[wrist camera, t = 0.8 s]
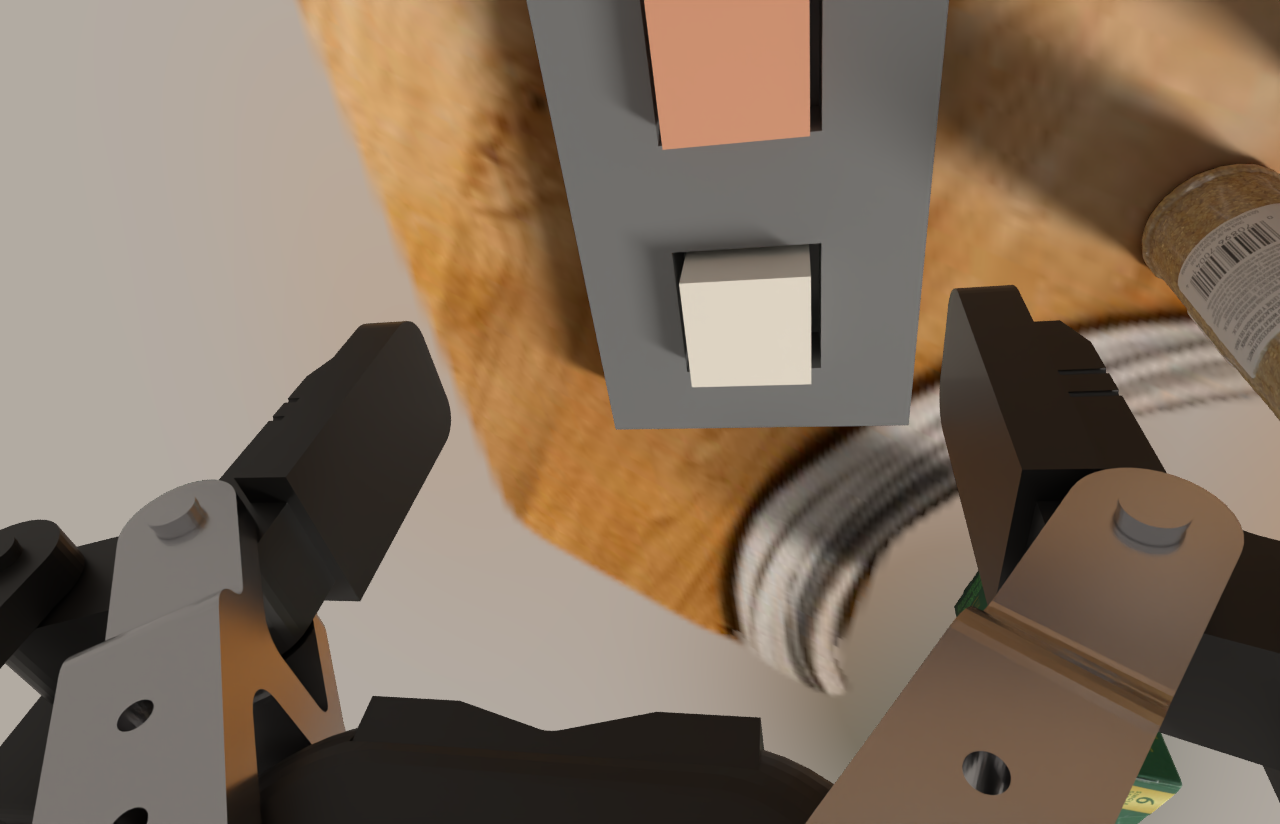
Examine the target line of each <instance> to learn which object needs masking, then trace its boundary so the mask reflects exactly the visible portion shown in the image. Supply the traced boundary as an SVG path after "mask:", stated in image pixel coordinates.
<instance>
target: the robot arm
mask: <svg viewBox="0 0 1280 824" xmlns="http://www.w3.org/2000/svg"><path fill="white" fill-rule="evenodd" d="M1118 391H1119V390H1118V388H1117V386H1116V384H1115V383H1114V381H1113V379H1112V378H1111V376H1110V374H1109V373H1106V367H1105V365H1104V364H1103V362H1102V360H1101V358H1100V357H1099V355H1098V353H1097V352H1096V350H1095V348H1094V346H1093V345H1092V343H1091V342H1090V341H1089V340H1087V339H1086V338H1084V337H1083V336H1082V335H1080V334H1079V333H1077V332H1076V331H1074V330H1073V329H1072V328H1070V327H1069V326H1067V325H1066V324H1064V323H1063V322H1061V321H1060V320H1059V321H1040V322H1034V321H1033V319H1032V317H1031V315H1030V313H1029V311H1028V309H1027V307H1026V305H1025V303H1024V301H1023V299H1022V297H1021V295H1020V293H1019V290H1018V289H1017V287H1016V286H1015V285H1005V286H989V287H972V288H956V289H953V290H952V292H951V295H950V298H949V304H948V313H947V323H946V332H945V342H944V351H943V361H942V370H941V380H940V416H941V424H942V429H943V433H944V437H945V441H946V445H947V449H948V453H949V457H950V461H951V465H952V468H953V472H954V476H955V480H956V484H957V488H958V492H959V496H960V500H961V504H962V507H963V511H964V515H965V519H966V523H967V527H968V531H969V535H970V539H971V543H972V547H973V550H974V554H975V558H976V562H977V566H978V570H979V574H980V578H981V582H982V586H983V590H984V594H985V597H986V601H987V605H988V606H987V607H986V609H984V610H983V611H982V610H980V609H978V608H976V607H974V606H969V607H967V608H966V609H965V610H963V611H962V612H961V613H960V614H959V615H958V616H957V617H956V619H955V620H954V621H953V623H952V624H951V625H950V626H949V628H948V629H947V630H946V632H945V633H944V635H943V636H942V637H941V639H940V640H939V641H938V643H937V644H936V645H935V647H934V648H933V649H932V651H931V652H930V654H929V655H928V656H927V658H926V659H925V660H924V662H923V663H922V665H921V666H920V667H919V669H918V670H917V671H916V673H915V674H914V675H913V677H912V678H911V680H910V681H909V682H908V684H907V685H906V687H905V688H904V689H903V691H902V692H901V693H900V695H899V696H898V697H897V699H896V700H895V701H894V703H893V704H892V706H891V707H890V708H889V710H888V711H887V712H886V714H885V716H884V717H883V718H882V719H881V721H880V722H879V724H878V725H877V726H876V727H875V729H874V730H873V732H872V733H871V734H870V736H869V737H868V738H867V740H866V741H865V743H864V744H863V745H862V747H861V748H860V749H859V751H858V752H857V753H856V755H855V756H854V758H853V759H852V760H851V762H850V763H849V764H848V766H847V767H846V769H845V770H844V771H843V773H842V774H841V775H840V777H839V778H838V779H837V781H836V782H835V784H833V783H831V782H830V781H828V780H826V779H824V778H823V777H822V776H820V775H818V774H817V773H815V772H814V771H812V770H810V769H809V768H806V767H804V766H802V765H800V764H798V763H796V762H794V761H792V760H790V759H788V758H786V757H783V756H780V755H777V754H774V753H771V752H768V751H765V750H764V745H763V736H762V727H761V718H757V717H755V718H754V717H738V716H720V715H703V714H684V713H667V712H654V713H649V714H644V715H638V716H633V717H627V718H622V719H617V720H611V721H607V722H601V723H596V724H590V725H585V726H580V727H575V728H569V729H564V730H559V731H544V730H540V729H537V728H535V727H532V726H529V725H526V724H523V723H521V722H518V721H515V720H512V719H509V718H507V717H504V716H501V715H498V714H495V713H493V712H490V711H487V710H484V709H481V708H479V707H476V706H473V705H470V704H467V703H464V702H461V701H452V700H434V699H417V698H400V697H381V696H373V697H372V699H371V701H370V703H369V705H368V707H367V709H366V711H365V714H364V716H363V718H362V720H361V723H360V724H359V726H358V728H356V729H352V730H349V731H345V727H344V722H343V717H342V712H341V707H340V701H339V696H338V691H337V686H336V680H335V675H334V670H333V665H332V660H331V655H330V649H329V644H328V639H327V633H326V629H325V626H324V624H323V622H322V621H321V619H320V618H319V616H318V615H317V612H318V610H319V608H320V606H321V605H322V603H323V601H324V600H329V601H360V600H361V599H362V597H363V595H364V593H365V591H366V589H367V587H368V586H369V584H370V582H371V580H372V578H373V576H374V575H375V573H376V571H377V569H378V567H379V565H380V563H381V561H382V560H383V558H384V556H385V554H386V552H387V550H388V549H389V547H390V545H391V543H392V541H393V539H394V537H395V536H396V534H397V532H398V530H399V528H400V526H401V524H402V523H403V521H404V519H405V517H406V515H407V513H408V511H409V510H410V508H411V506H412V504H413V502H414V500H415V498H416V496H417V495H418V493H419V491H420V489H421V487H422V485H423V484H424V482H425V480H426V478H427V476H428V474H429V472H430V471H431V469H432V467H433V465H434V463H435V461H436V459H437V458H438V456H439V454H440V452H441V450H442V448H443V446H444V445H445V443H446V441H447V439H448V436H449V432H450V426H451V413H450V406H449V402H448V399H447V396H446V394H445V392H444V389H443V386H442V384H441V381H440V378H439V376H438V373H437V371H436V368H435V366H434V363H433V360H432V358H431V355H430V353H429V350H428V348H427V345H426V343H425V340H424V337H423V335H422V333H421V331H420V329H419V328H418V327H417V326H416V325H415V324H414V323H413V322H409V321H402V322H387V323H370V324H363V325H361V326H360V327H358V328H357V330H356V331H355V332H354V333H353V334H352V336H351V337H350V338H349V339H348V340H347V342H346V343H345V344H344V345H343V346H342V348H341V349H340V350H339V351H338V353H337V354H336V355H335V356H334V357H333V358H332V359H331V360H329V361H328V362H326V363H325V364H324V365H322V366H321V367H320V368H318V369H317V370H315V371H314V372H312V373H311V374H310V375H308V376H307V377H306V378H305V379H304V380H303V381H302V383H301V384H300V385H299V386H298V387H297V388H296V390H295V391H294V392H293V393H292V394H291V396H290V397H289V398H288V400H289V402H288V403H284V404H283V405H282V406H281V407H280V409H279V410H278V411H277V412H276V413H275V414H274V416H273V421H268V423H267V424H266V425H265V426H264V427H263V429H262V430H261V431H260V432H259V433H258V434H257V436H256V437H255V438H254V439H253V440H252V442H251V443H250V444H249V445H248V446H247V447H246V449H245V450H244V451H243V452H242V453H241V454H240V456H239V457H238V458H237V459H236V460H235V462H234V463H233V464H232V465H231V466H230V467H229V469H228V470H227V471H226V472H225V473H224V475H223V476H222V477H221V478H220V479H219V480H202V481H196V482H192V483H188V484H186V485H183V486H180V487H177V488H175V489H173V490H170V491H168V492H166V493H164V494H163V495H161V496H159V497H158V498H156V499H155V500H153V501H151V502H150V503H148V504H147V505H146V506H144V507H143V508H142V509H140V510H139V511H138V512H137V513H136V514H135V515H134V516H133V517H132V518H131V519H130V520H129V521H128V522H127V524H126V525H125V527H124V528H123V529H122V531H121V533H120V535H119V537H115V538H110V539H106V540H102V541H98V542H94V543H90V544H86V545H82V546H79V547H76V546H75V544H74V543H73V542H72V541H71V540H70V539H69V538H68V537H67V536H66V534H65V533H64V532H63V531H62V530H61V529H60V528H59V527H58V525H57V524H55V523H54V522H52V521H48V520H31V521H27V522H22V523H19V524H15V525H12V526H9V527H7V528H4V529H2V530H0V668H1V667H2V666H3V665H4V664H7V665H8V666H9V667H10V668H11V669H12V670H13V671H14V672H16V673H17V674H18V675H19V676H20V677H21V678H22V679H24V680H25V681H26V682H27V683H28V684H29V685H30V686H32V687H33V688H34V689H35V690H36V691H37V692H38V693H39V694H41V695H42V696H41V697H40V698H39V699H38V701H37V702H36V703H35V704H34V706H33V707H32V708H31V709H30V710H29V712H28V713H27V714H26V715H25V717H24V718H23V719H22V720H21V722H20V723H19V724H18V725H17V727H16V728H15V729H14V730H13V731H12V733H11V734H10V735H9V736H8V738H7V739H6V740H5V741H4V743H3V744H2V745H1V746H0V824H1115V822H1116V820H1117V818H1118V816H1119V814H1120V812H1121V809H1122V807H1123V805H1124V803H1125V801H1126V799H1127V797H1128V794H1129V792H1130V790H1131V788H1132V786H1133V784H1134V782H1135V780H1136V777H1137V775H1138V773H1139V771H1140V769H1141V767H1142V765H1143V763H1144V760H1145V758H1146V756H1147V754H1148V752H1149V750H1150V748H1151V746H1152V743H1153V741H1154V739H1155V737H1156V735H1157V733H1158V732H1160V733H1164V734H1167V735H1170V736H1173V737H1176V738H1179V739H1182V740H1185V741H1188V742H1192V743H1195V744H1198V745H1201V746H1204V747H1207V748H1210V749H1214V750H1217V751H1219V752H1223V753H1226V754H1229V755H1232V756H1235V757H1239V758H1242V759H1245V760H1248V761H1251V762H1254V763H1257V764H1260V765H1263V767H1264V769H1265V771H1266V774H1267V776H1268V777H1269V780H1270V782H1271V784H1272V786H1273V789H1274V791H1275V793H1276V795H1277V797H1278V800H1279V802H1280V541H1278V540H1274V539H1270V538H1266V537H1262V536H1258V535H1255V534H1252V533H1249V532H1246V531H1243V530H1242V528H1241V525H1240V523H1239V521H1238V519H1237V518H1236V516H1235V515H1234V513H1233V512H1232V511H1231V510H1230V509H1229V508H1228V507H1227V506H1226V505H1225V504H1224V503H1223V502H1222V501H1221V500H1220V499H1218V498H1217V497H1216V496H1214V495H1213V494H1211V493H1210V492H1208V491H1207V490H1205V489H1204V488H1202V487H1200V486H1198V485H1196V484H1194V483H1192V482H1190V481H1187V480H1185V479H1182V478H1180V477H1177V476H1174V475H1170V474H1167V473H1166V471H1165V469H1164V467H1163V466H1162V464H1161V463H1160V460H1159V459H1158V457H1157V455H1156V454H1155V452H1154V450H1153V448H1152V447H1151V445H1150V443H1149V442H1148V440H1147V438H1146V437H1145V435H1144V433H1143V431H1142V430H1141V428H1140V426H1139V424H1138V422H1137V421H1136V419H1135V417H1134V416H1133V414H1132V412H1131V410H1130V409H1129V407H1128V405H1127V403H1126V402H1125V400H1124V398H1123V397H1122V396H1119V394H1118Z"/></svg>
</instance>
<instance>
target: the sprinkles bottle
mask: <svg viewBox="0 0 1280 824" xmlns="http://www.w3.org/2000/svg"><path fill="white" fill-rule="evenodd" d="M1142 251H1143V259H1144V261H1145V263H1146V264H1147V266H1148V267H1149V268H1150V269H1151V271H1152V272H1153V273H1154V275H1155V276H1157V277H1158V278H1161V279H1163V280H1164V281H1165V282H1166V284H1167V285H1168V286H1169V287H1170V288H1171V289H1172V291H1173V292H1174V293H1175V294H1176V295H1177V297H1178V298H1179V299H1180V300H1181V302H1182V303H1183V304H1184V305H1185V306H1186V308H1187V312H1188V314H1189V316H1190V317H1191V318H1192V319H1193V321H1194V322H1195V323H1196V324H1197V326H1198V327H1199V328H1200V329H1201V331H1202V332H1203V333H1204V334H1205V336H1206V337H1207V338H1208V339H1209V340H1210V341H1211V343H1212V344H1213V345H1214V346H1215V348H1216V349H1217V350H1218V351H1219V353H1220V354H1221V355H1222V356H1223V357H1224V359H1225V360H1226V361H1227V362H1228V363H1229V364H1230V365H1232V366H1233V367H1235V368H1236V369H1237V370H1238V371H1239V373H1240V374H1241V375H1242V376H1243V378H1244V379H1245V380H1246V381H1247V382H1248V383H1249V384H1250V386H1251V387H1252V388H1253V390H1254V391H1255V392H1256V393H1257V394H1258V395H1259V396H1260V397H1261V398H1262V400H1263V401H1264V402H1265V403H1266V404H1267V405H1268V407H1269V408H1270V409H1271V410H1272V411H1273V412H1274V414H1275V415H1276V417H1277V418H1278V419H1279V420H1280V174H1278V173H1277V172H1275V171H1274V170H1271V169H1268V168H1266V167H1263V166H1260V165H1257V164H1235V165H1228V166H1221V167H1217V168H1215V169H1212V170H1208V171H1205V172H1203V173H1200V174H1197V175H1195V176H1194V177H1192V178H1190V179H1189V180H1187V181H1185V182H1183V183H1182V184H1181V185H1179V186H1178V187H1176V188H1175V189H1174V190H1173V191H1172V192H1171V193H1170V194H1169V195H1167V196H1166V197H1165V198H1164V199H1163V200H1162V201H1161V202H1160V203H1159V205H1158V206H1157V207H1156V208H1155V210H1154V211H1153V213H1152V214H1151V215H1150V217H1149V219H1148V221H1147V224H1146V226H1145V229H1144V232H1143V237H1142Z"/></svg>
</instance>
